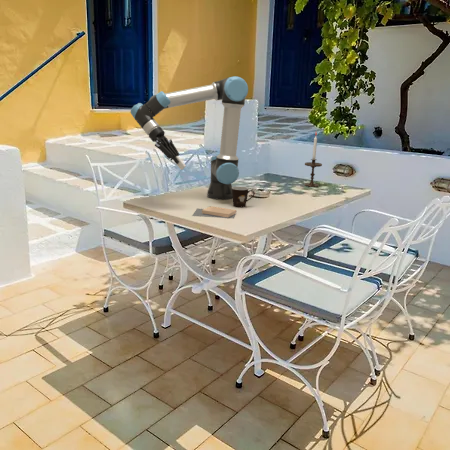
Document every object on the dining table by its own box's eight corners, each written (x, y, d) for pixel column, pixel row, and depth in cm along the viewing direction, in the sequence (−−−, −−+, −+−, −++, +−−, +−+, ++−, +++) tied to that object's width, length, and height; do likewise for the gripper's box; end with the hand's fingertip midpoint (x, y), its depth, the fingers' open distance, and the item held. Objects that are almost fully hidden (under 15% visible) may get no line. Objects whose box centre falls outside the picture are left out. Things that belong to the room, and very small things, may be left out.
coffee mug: (230, 208, 238) (230, 189, 236) (232, 204, 247) (232, 186, 244) (252, 210, 237) (253, 190, 234) (254, 206, 245) (255, 187, 242)
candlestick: (304, 183, 309) (308, 129, 300) (321, 185, 306) (325, 130, 296) (301, 186, 299) (306, 131, 290) (318, 188, 296) (323, 132, 286)
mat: (197, 209, 234) (197, 208, 234) (236, 211, 232) (236, 210, 232) (191, 217, 220) (191, 215, 220) (234, 219, 219) (234, 218, 218)
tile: (210, 206, 231) (236, 210, 225) (210, 210, 232) (236, 214, 226) (201, 210, 224) (228, 214, 218) (201, 214, 224) (228, 218, 218)
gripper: (157, 135, 238) (185, 170, 236) (142, 137, 226) (171, 174, 224) (165, 125, 234) (194, 161, 232) (151, 126, 223) (181, 164, 221)
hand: (183, 167), depth 228 cm, fingers closed
